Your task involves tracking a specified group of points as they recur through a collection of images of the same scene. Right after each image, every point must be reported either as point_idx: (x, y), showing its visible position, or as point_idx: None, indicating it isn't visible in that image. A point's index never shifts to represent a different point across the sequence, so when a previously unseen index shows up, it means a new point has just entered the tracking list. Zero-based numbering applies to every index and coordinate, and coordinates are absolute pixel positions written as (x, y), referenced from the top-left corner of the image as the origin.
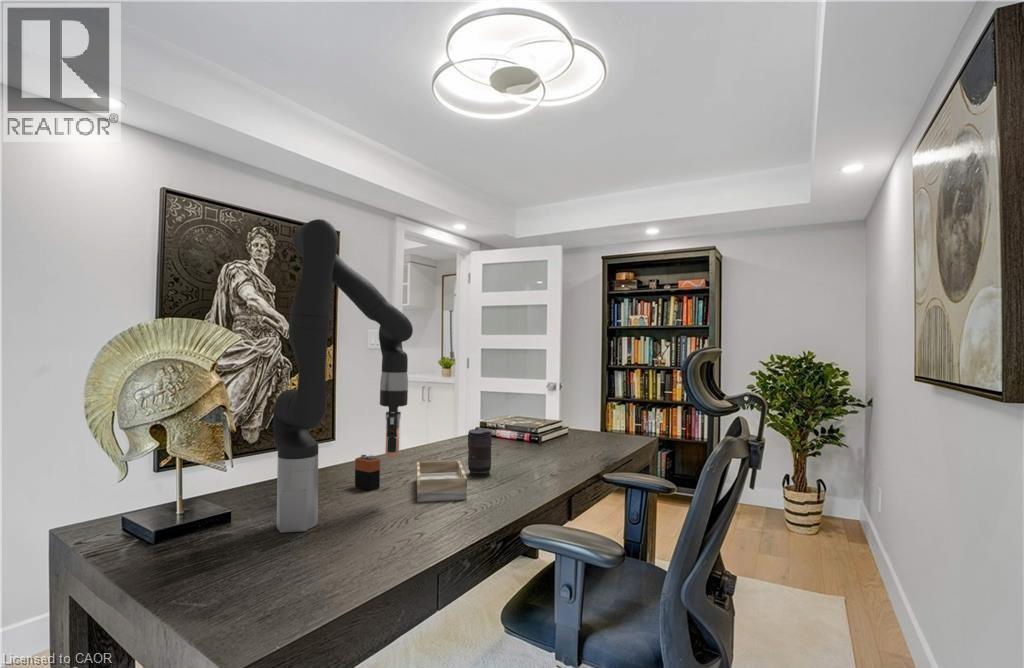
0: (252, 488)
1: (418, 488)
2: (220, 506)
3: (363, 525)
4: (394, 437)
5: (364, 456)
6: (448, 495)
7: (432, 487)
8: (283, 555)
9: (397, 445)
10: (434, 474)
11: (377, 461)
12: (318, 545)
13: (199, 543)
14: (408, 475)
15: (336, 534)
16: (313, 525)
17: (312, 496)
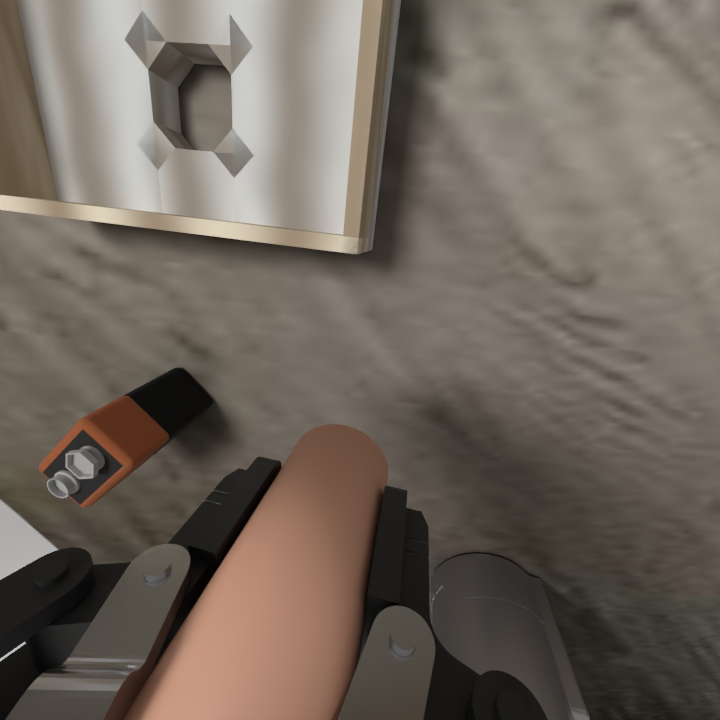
0: None
1: (364, 247)
2: None
3: (561, 455)
4: (475, 673)
5: (69, 484)
6: (388, 81)
7: (373, 168)
8: (686, 627)
9: (357, 502)
10: (71, 118)
11: (105, 427)
12: (665, 566)
13: None
14: (17, 241)
15: (602, 524)
16: (515, 567)
17: (549, 668)
